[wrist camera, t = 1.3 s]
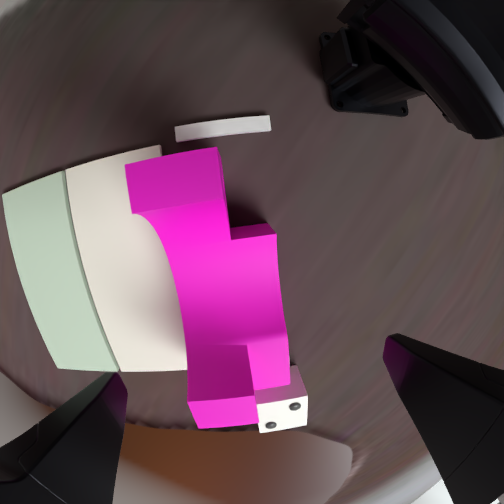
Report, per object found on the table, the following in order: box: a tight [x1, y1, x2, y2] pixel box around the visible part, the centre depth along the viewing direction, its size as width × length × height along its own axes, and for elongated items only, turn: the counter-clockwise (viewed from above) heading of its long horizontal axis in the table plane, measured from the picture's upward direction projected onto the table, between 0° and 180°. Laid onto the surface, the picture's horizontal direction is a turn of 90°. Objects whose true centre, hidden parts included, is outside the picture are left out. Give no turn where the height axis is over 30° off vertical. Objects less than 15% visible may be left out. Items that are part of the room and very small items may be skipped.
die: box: [255, 365, 308, 433], centre depth 20 cm, size 4×4×4 cm
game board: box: [2, 115, 290, 372], centre depth 18 cm, size 22×19×1 cm
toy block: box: [124, 147, 290, 428], centre depth 15 cm, size 15×6×8 cm, turn 7°
